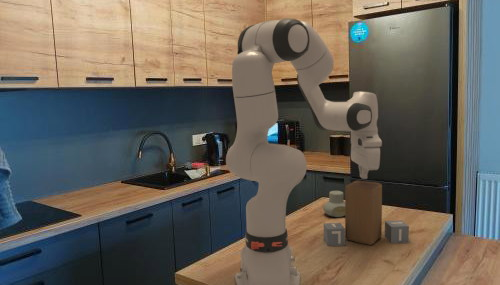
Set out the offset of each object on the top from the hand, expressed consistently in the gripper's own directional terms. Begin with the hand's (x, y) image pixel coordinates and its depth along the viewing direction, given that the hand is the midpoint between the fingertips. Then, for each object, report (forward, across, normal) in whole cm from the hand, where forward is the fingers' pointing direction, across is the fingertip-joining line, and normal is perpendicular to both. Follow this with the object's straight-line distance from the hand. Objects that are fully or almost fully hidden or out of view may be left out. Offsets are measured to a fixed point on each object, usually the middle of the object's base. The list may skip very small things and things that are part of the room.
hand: (363, 178), depth 133 cm
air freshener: (+22, -27, -3) cm, 35 cm away
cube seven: (+22, +2, -11) cm, 25 cm away
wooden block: (+22, 0, 0) cm, 22 cm away
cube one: (+22, +2, +11) cm, 25 cm away
